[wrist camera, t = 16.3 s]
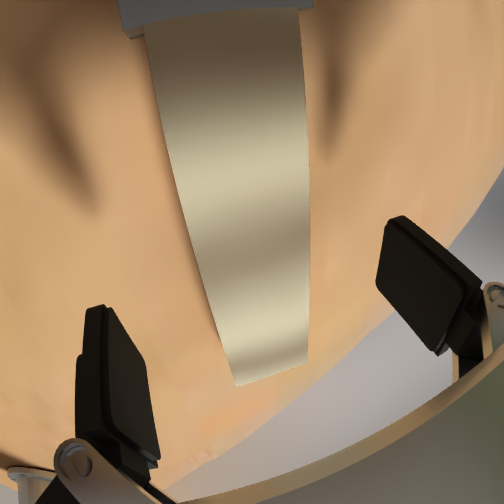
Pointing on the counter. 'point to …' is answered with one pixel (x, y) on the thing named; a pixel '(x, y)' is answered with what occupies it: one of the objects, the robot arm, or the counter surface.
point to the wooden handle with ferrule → (238, 164)
